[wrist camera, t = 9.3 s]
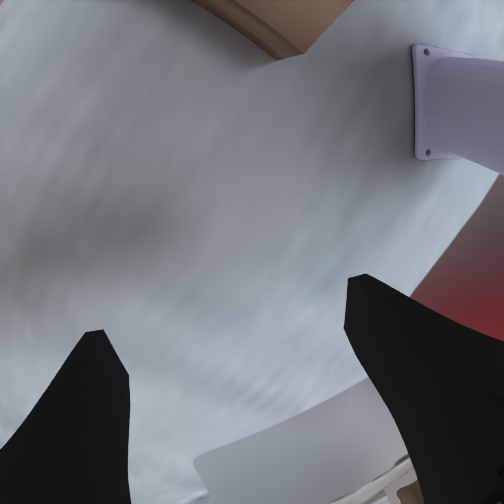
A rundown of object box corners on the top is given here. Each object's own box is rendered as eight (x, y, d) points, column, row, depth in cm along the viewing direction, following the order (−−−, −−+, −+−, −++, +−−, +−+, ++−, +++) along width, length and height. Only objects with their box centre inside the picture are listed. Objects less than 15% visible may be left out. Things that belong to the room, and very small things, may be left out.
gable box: (434, 451, 61) (475, 525, 37) (455, 443, 66) (493, 509, 42) (382, 489, 69) (413, 556, 45) (407, 480, 74) (437, 541, 50)
